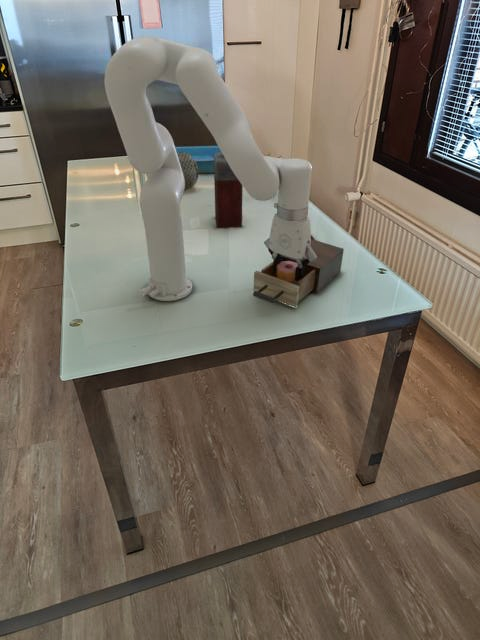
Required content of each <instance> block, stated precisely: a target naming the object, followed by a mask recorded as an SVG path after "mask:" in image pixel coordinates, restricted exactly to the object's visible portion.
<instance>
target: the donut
mask: <svg viewBox="0 0 480 640" xmlns="http://www.w3.org/2000/svg"><path fill="white" fill-rule="evenodd" d="M297 266H298V265H297V263H295V262H292V261H284V262H281V263H279V264H278V265H277V270H276V275H277V277H278V279H281V280H284V281H287V282H292V281H296V280H295V270H296V267H297Z"/></svg>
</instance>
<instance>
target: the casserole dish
mask: <svg viewBox="0 0 480 640" xmlns="http://www.w3.org/2000/svg"><path fill="white" fill-rule="evenodd" d="M175 149H176V152H177V153H179V152H185V153H188V154H189V155H191V156H192V157H193V159H194V160H195V162H196V165H197V168H198V174H212V173H213V174H214V154H215V153H222V152H221V150H220V148H219V147H218V145H199V146H197V145H196V146H175Z"/></svg>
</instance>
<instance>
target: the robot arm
mask: <svg viewBox="0 0 480 640" xmlns="http://www.w3.org/2000/svg"><path fill="white" fill-rule="evenodd" d="M218 69H219V68H218V63H217V60H216V58H215V56H213V54H212V53H211V52H210V51H208V50H206V49H205V48H202V47H198V46H194V45H189V44H186V43H181V42H177V41H173V40H170V39H165V38H162V37H158V36H154V35H141V36H138V37H136V38H133V39H130V40H128V41H126V42H124V43H123V45H121V46H120V47H119V48H118V49H117V50H116V51H115V52H114V53H113V54H112V56H111V57H110V59H109V61H108V63H107V66H106V68H105V72H104V90H105V95H106V97H107V100H108V103H109V106H110V109H111V112H112V114H113V115H112V116H113V117H114V120H115V123H116V127H117V130H118V133H119V135H120V139H121V141H122V143H123V147H124V149H125V153H126V156H127V159H128V161H129V163H130V165H131V166H132V167H133V169H135V171H137V172H138V173H140V174H144V175H145V176H146V180H145V182H144V184H143V186H142V188H141V190H140V193H139V209H140V213H141V217H142V220H143V221H142V222H143V227H144V231H145V240H146V246H147V256H148V264H149V273H150V274H149V275H150V278H148V279H147V283H146V286H144V287H143V288H141V289H139V290H138V294H139V296H140V297H142V298H143V297H145V296H146V295H148V296H149V297H150V298H151V299H154V300H156V301H161V302H174V301H179V300H181V299H183V298H185V297H187V296H189V295H190V294H191V292H192V290H193V283H192V280H190V279H189V278H187V275H186V272H187V271H186V258H185V244H184V243H185V242H184V230H183V229H184V228H183V221H182V214H181V201H182V199H183V194H184V192H185V190H184V189H185V180H184V176H183V172H182V169H181V165H180V162H179V159H178V155H177V152H176V149H175V147H176V145H175V143H174V139H173V137H172V135H171V133H170V132H169V130H168V129H167V128H166V127H165V126H164V125H162V123H159V122H157V121H156V119H155V115H154V111H153V109H152V106H151V103H150V101H149V98H148V96H147V90H146V89H147V87H148V86H149V85H151V84H152V83H154V82H155V81H161V82H165V83H169V84H172V85H173V84H174V85H177V86H178V88H179V89H180V91H181V92H182V94H183V95H184V96H185V98H186V100H187V101H188V102H189V104H190V105H191V106H192V108H193V109H194V111H195V112H196V113H197V115H198V116H199V118H200V120H201V121H202V122H203V124H204V126H205V127H206V128H207V130H208V131H209V132H210V133H211V135H212V137H213V139H214V141H215V143H216V146H218V147H219V148H220V150H221V152H222V154H223V155H224V157H225V159H226V161H227V163H228V164H229V166H230V168H231V169H232V171H233V173H234V174H235V176H236V177H237V178H238V180H239V181H240V183H241V184H242V185H243V187H242V188H244V190H245V191H246V193H248V195H249V196H250V197H252V198H253V199H255V200H257V201H263V202H265V201H270V200H271V199H272V198H274V197H275V196H276V195H277V202H276V201H275V202H274V203H273V208H274V209H276V212H275V213H274V215H273V217H272V222H271V225H270V226H271V227H270V231H269V237H268V238H267V239H266V240H264V241H263V244H264V245H265V247H266V248H267V250H268V252H269V254H270V256H271V259H272V262H273V268H274V273H276V270H277V265H278V264H279V263H281V262H282V256H281V255H284V256H287V257H291V258H294V259H296V261H297V265H298V266H297V267H296V270H295V280H296V281H298V280H299V279H300V278H302V277H303V276H304V268H305V265H307V264H308V263H310V262H311V261H313V260H315V259H316V258H317V255H316V254H315V252H314V251H313V249H312V247H311V246H310V244H311V235H312V230H311V229H312V228H311V227H312V226H311V220H310V217H308V215H309V214H308V213H309V204H310V195H311V182H312V172H313V171H312V170H313V167H312V164H311V162H309V161H308V160H306V159H303V158H296V157H294V158H281V157H280V158H278V157H274V156H271V155H270V156H267V155H266V156H265V155H263V153H262V152H261V150H260V148H259V145H258V144H257V142H256V141H255V138H254V136H253V134H252V131H251V128H250V124H249V122H248V119H247V116H246V113H245V111H244V110H243V108H242V107H241V105H240V104H239V102H238V101H237V99H236V98H235V96H234V94H233V93H232V92H231V90H230V88H229V87H228V84H226V82H225V81H224V79H223V77H222V76H221V75H220V73H219V70H218ZM305 254H308V255H309V257H308V258H307V259H306V256H305Z"/></svg>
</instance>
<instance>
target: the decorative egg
mask: <svg viewBox="0 0 480 640" xmlns="http://www.w3.org/2000/svg"><path fill="white" fill-rule="evenodd" d="M177 155H178V159H179V162H180V165H181V169H182V172H183V176H184V180H185V189H184V191H187V190H190V189H192V188H193V187H194V186H195V185H196V184H197V182H198V178H199V173H198V168H197V165H196V162H195V160H194V159H193V157H192V156H191V155H189V154H188V153H185V152H179V153H177Z"/></svg>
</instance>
